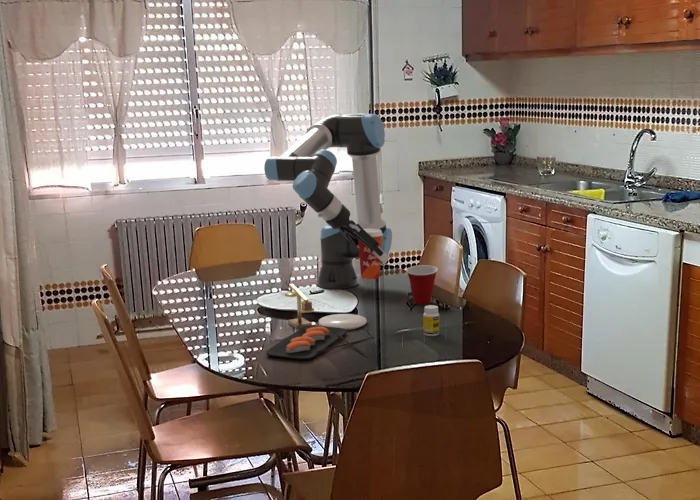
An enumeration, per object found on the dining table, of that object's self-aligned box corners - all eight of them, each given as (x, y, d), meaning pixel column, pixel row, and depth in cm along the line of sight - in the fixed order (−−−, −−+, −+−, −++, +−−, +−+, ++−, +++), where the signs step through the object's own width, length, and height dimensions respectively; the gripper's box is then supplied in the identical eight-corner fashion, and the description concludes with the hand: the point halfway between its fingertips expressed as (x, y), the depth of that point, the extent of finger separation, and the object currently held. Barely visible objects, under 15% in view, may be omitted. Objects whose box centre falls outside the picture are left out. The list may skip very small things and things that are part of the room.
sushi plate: (307, 330, 247) (306, 318, 247) (399, 339, 236) (399, 327, 236) (262, 360, 221) (261, 346, 220) (363, 372, 210) (363, 358, 209)
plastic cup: (401, 304, 272) (400, 270, 270) (413, 297, 282) (413, 264, 279) (430, 308, 267) (430, 273, 265) (442, 300, 277) (442, 266, 274)
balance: (282, 320, 257) (281, 283, 255) (297, 317, 259) (295, 281, 257) (302, 332, 243) (301, 294, 241) (317, 330, 245) (316, 292, 243)
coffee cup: (365, 281, 249) (365, 233, 246) (352, 276, 256) (352, 229, 253) (388, 277, 252) (388, 230, 250) (375, 273, 260) (375, 227, 257)
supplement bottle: (434, 337, 236) (434, 309, 234) (420, 335, 238) (420, 307, 237) (441, 333, 240) (441, 305, 238) (427, 330, 242) (427, 303, 241)
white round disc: (311, 321, 254) (310, 318, 254) (352, 315, 261) (352, 311, 261) (331, 333, 241) (331, 330, 241) (375, 326, 248) (375, 322, 248)
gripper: (311, 217, 253) (356, 261, 263) (341, 226, 234) (389, 273, 245) (325, 199, 254) (370, 244, 264) (357, 206, 236) (404, 254, 246)
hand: (379, 258), depth 254 cm, fingers closed on coffee cup, 8 cm apart
